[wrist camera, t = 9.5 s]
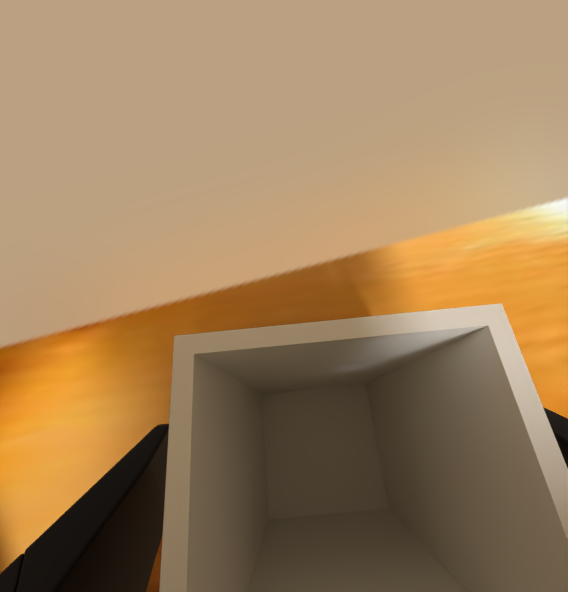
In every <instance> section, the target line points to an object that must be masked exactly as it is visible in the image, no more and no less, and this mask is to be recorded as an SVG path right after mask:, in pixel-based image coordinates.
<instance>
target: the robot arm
mask: <svg viewBox="0 0 568 592" xmlns="http://www.w3.org/2000/svg"><path fill="white" fill-rule="evenodd" d="M543 408H544V407H543ZM544 411H545V413H546V416H547V418H548V421H549V423H550V426H551V428H552V431H553V433H554V436H555V438H556V441H557V443H558V446H559V448H560V451H561V453H562V456H563V458H564V461H565V463H566V466H567V468H568V419H567V418H565V417H563V416H561V415H559V414H557V413H555V412H552V411H550V410H548V409H546V408H544ZM168 435H169V424H160V425H157V426H156V427H155V428H154V429H152V430H151V431H150V432H149V433H148V434H147V435H146V436H145V437H144V438H143V439H142V440H141V441H140V442H139V443H138V444H137V445H136V446H135V447H134V448H132V449H131V450H130V451H129V452H128V453H127V454H126V455H125V456H124V457H123V458H122V459H121V460H120V461H119V462H118V463H117V464H116V465H115V466H114V467H112V468H111V469H110V470H109V471H108V472H107V473H106V474H105V475H104V476H103V477H102V478H101V479H100V480H99V481H98V482H97V483H96V484H95V485H94V486H92V487H91V488H90V489H89V490H88V491H87V492H86V493H85V494H84V495H83V496H82V497H81V498H80V499H79V500H78V501H77V502H76V503H75V504H74V505H72V506H71V507H70V508H69V509H68V510H67V511H66V512H65V513H64V514H63V515H62V516H61V517H60V518H59V519H58V520H57V521H56V522H55V523H54V524H52V525H51V526H50V527H49V528H48V529H47V530H46V531H45V532H44V533H43V534H42V535H41V536H40V537H39V538H38V539H37V540H36V541H35V542H34V543H32V544H31V545H30V546H29V547H28V548H27V549H26V550H25V553H24V554H21V555H20V556H19V557H18V558H17V559H15V560H14V561H13V562H12V563H11V564H10V565H9V566H8V567H7V568H6V569H5V570H4V571H3V572H2V573H1V574H0V592H146V588H147V585H148V581H149V578H150V574H151V571H152V568H153V564H154V561H155V557H156V554H157V550H158V547H159V544H160V540H161V537H162V533H163V520H164V503H165V486H166V469H167V452H168Z"/></svg>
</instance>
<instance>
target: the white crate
mask: <svg viewBox="0 0 568 592" xmlns="http://www.w3.org/2000/svg"><path fill="white" fill-rule="evenodd" d="M159 592H568V468H567V466H566V463H565V461H564V458H563V456H562V453H561V451H560V448H559V446H558V443H557V441H556V438H555V436H554V433H553V431H552V428H551V426H550V423H549V421H548V418H547V416H546V413H545V411H544V408H543V406H542V403H541V401H540V398H539V396H538V393H537V391H536V388H535V386H534V383H533V381H532V378H531V376H530V373H529V371H528V368H527V366H526V363H525V361H524V358H523V356H522V353H521V351H520V348H519V346H518V343H517V341H516V338H515V336H514V333H513V331H512V328H511V326H510V323H509V321H508V318H507V316H506V313H505V311H504V308H503V306H502V304H492V305H481V306H471V307H461V308H451V309H441V310H430V311H420V312H410V313H400V314H390V315H379V316H369V317H359V318H349V319H339V320H329V321H318V322H308V323H298V324H288V325H278V326H267V327H257V328H247V329H237V330H227V331H216V332H206V333H196V334H186V335H176V336H174V349H173V366H172V383H171V400H170V418H169V435H168V452H167V469H166V486H165V503H164V520H163V538H162V555H161V572H160V589H159Z"/></svg>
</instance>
